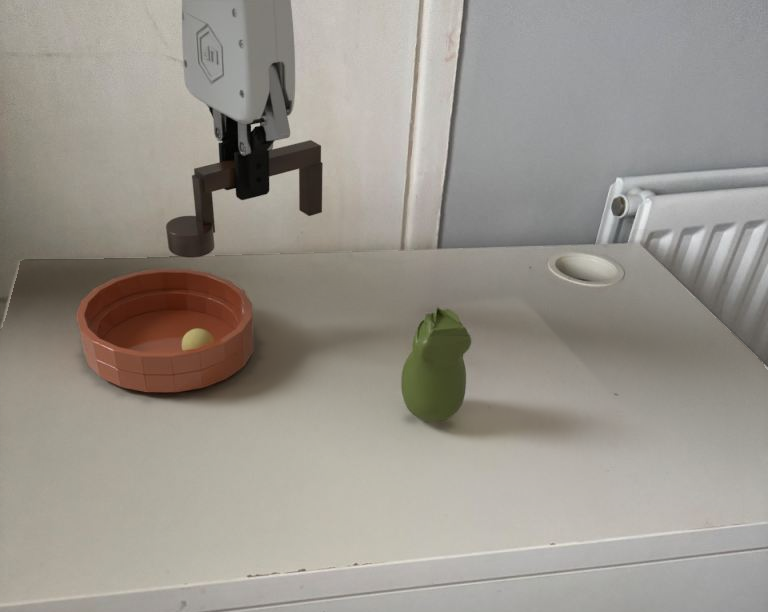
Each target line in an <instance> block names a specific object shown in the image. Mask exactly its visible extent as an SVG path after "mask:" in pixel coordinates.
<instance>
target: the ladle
mask: <svg viewBox="0 0 768 612" xmlns="http://www.w3.org/2000/svg"><path fill="white" fill-rule="evenodd" d="M323 167H324V166H323V162H322V145H321V144H319V143H317V142H315V141H314V140H312V139H308V140H305V141H301V142H296V143H293V144H289V145H288V144H287V145H285V146H280V147H277V148H273V149H272V150H269V178H270V177H273V176H277V175H281V174H285V173H288V172H292V171H295V170H298V203H299V204H298V209H299V211H300V212H302V213H303V214H304V215H306V216H308V217H311V216H315V215H318V214H321V213H323V170H324V169H323ZM193 173H194V174H192V175H191V180H192V181H191V182H192V191H193V202H194V213H195V215H181V216H177V217H174V218H172V219H170V220H169V221H167V223H166V225H165V230H166V231H165V232H166V239H167V246H168V250H169V251H170V253H171V254H173V255H175V256H178V257H182V258H188V259H189V258H191V259H192V258H200V257H204V256H206V255H207V256H208V255H209V254H210V253H212V252H213V251H214V249H215V235H214V234H215V233H216V226H215V214H214V213H215V212H214V201H213V192H216V191H220V190H225V189H224V188H228V187H232V186H236V185H235V162H234V159H231V160H227V161H223V162H217V163H211V164H207V165H204V166H200V167H195V168H193Z"/></svg>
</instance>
